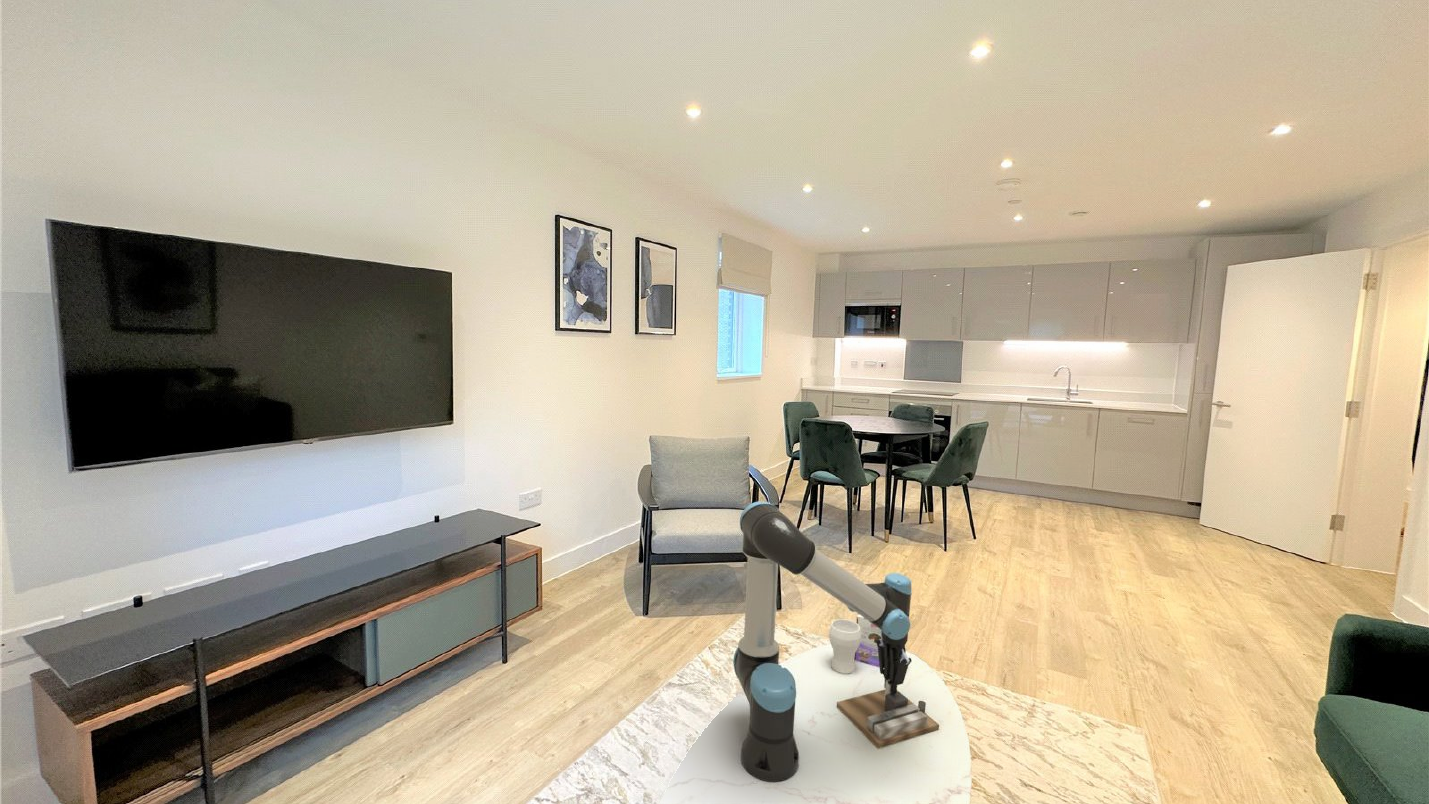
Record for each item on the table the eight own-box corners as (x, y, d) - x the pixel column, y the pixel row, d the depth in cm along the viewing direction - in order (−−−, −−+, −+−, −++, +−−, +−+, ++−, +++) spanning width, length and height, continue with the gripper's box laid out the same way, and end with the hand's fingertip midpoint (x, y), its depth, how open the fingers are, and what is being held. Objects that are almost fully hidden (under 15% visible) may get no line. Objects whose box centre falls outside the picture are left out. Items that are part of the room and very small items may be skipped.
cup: (827, 674, 186) (830, 631, 184) (826, 657, 196) (829, 616, 195) (860, 678, 184) (863, 635, 182) (857, 660, 194) (860, 620, 193)
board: (878, 748, 151) (879, 729, 151) (836, 706, 168) (837, 689, 168) (938, 729, 160) (940, 711, 159) (893, 691, 177) (894, 675, 177)
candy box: (896, 662, 194) (899, 618, 193) (894, 671, 189) (897, 625, 187) (856, 652, 200) (859, 608, 198) (853, 660, 194) (856, 615, 193)
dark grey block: (893, 717, 162) (894, 702, 162) (884, 709, 166) (885, 694, 165) (907, 713, 164) (908, 699, 164) (897, 705, 168) (898, 691, 167)
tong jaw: (872, 732, 155) (873, 722, 155) (866, 726, 157) (867, 717, 157) (918, 718, 162) (919, 708, 161) (913, 713, 164) (913, 703, 164)
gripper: (920, 635, 161) (914, 711, 163) (889, 614, 172) (884, 686, 175) (900, 639, 158) (894, 717, 160) (870, 618, 169) (865, 691, 172)
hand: (889, 701), depth 167 cm, fingers closed
